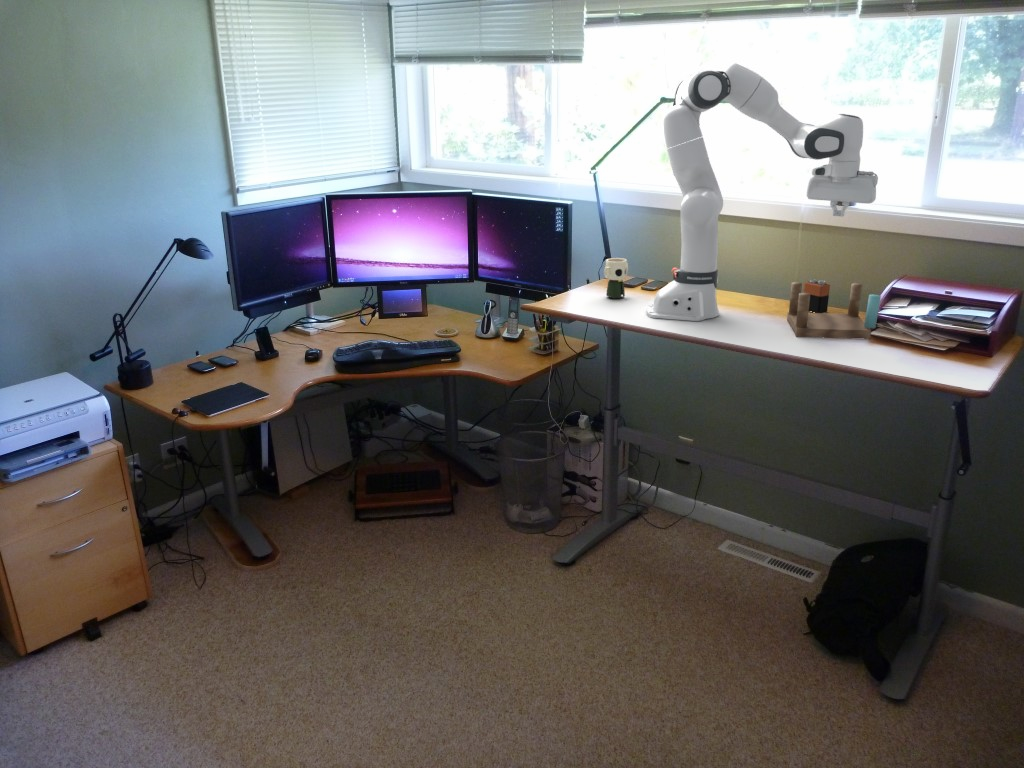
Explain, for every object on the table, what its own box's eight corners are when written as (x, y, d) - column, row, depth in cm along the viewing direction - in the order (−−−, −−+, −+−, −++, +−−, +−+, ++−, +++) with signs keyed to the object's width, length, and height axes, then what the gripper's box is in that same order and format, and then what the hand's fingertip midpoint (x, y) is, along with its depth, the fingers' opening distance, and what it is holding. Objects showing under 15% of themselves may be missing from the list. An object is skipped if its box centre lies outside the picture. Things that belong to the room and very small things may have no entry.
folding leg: (865, 327, 235) (870, 296, 232) (862, 325, 238) (867, 294, 235) (876, 328, 234) (881, 297, 231) (874, 325, 237) (879, 294, 234)
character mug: (611, 302, 280) (612, 263, 275) (596, 298, 285) (597, 260, 281) (634, 296, 286) (635, 259, 282) (619, 293, 291) (620, 256, 287)
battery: (818, 314, 261) (821, 283, 258) (800, 310, 266) (804, 279, 263) (827, 312, 263) (831, 281, 260) (810, 308, 268) (813, 277, 265)
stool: (796, 336, 238) (800, 295, 234) (786, 320, 255) (790, 281, 251) (870, 339, 235) (875, 297, 231) (855, 322, 252) (860, 282, 248)
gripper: (882, 171, 250) (876, 217, 255) (815, 167, 263) (810, 212, 267) (875, 172, 245) (869, 220, 250) (807, 169, 258) (802, 214, 263)
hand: (838, 216), depth 259 cm, fingers closed
